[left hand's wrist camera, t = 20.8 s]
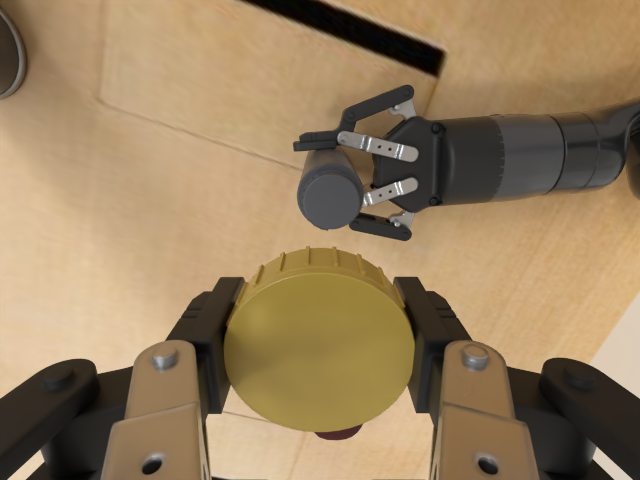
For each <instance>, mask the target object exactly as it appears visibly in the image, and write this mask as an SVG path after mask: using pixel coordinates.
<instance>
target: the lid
mask: <svg viewBox="0 0 640 480" xmlns="http://www.w3.org/2000/svg"><path fill="white" fill-rule="evenodd" d="M404 307H405V305H404V303H403V300H402V298H401V296H400V293H399V291H398V289H397V287H396V285H395V284H394V285H392V284H391V282H390V281H389V280H388V279H387V277H386V276H385V275H384V273H383V271H382V268H381V267H378V268H377V267H375V266H374V265H372V264H371V263H369V262H368V261H366V260H364V259H362V257H361V255H360V254H357V256H356V255H354V254H351V253H348V252H345V251H340V250H336V247H332V249H327V248H310V246H306V249H303V250H298V251H294V252H291V253H288V254H285V253H284V252H283V253H281V255H280V257H278V258H276V259H275V260H273V261H271V262H269V263H268V264H266V265H265V266H263V265H261V266H260V267H259V269H258V272H257V273H256V274H255V275H254V276H253V277H252V278H251V280H250V281H249V282H248V283H247V282H245V283H244V285H243V287H242V290H241V292H240V294H239V296H238V299H237V301H236V303H235V305H234V307H233V310H232V312H231V314H230V316H229V319H228V321H227V323H226V327H228V328H227V331H226V334H225V338H224V343H223V351H224V361H225V369H226V373H227V376H228V379H229V381H230V383H231V385H232V387H233V388H234V390H235V391H236V393H237V394H238V396H239V397H240V398H241V399H242V400H243V401H244V403H245V404H247V405H248V406H249V407H250V408H251V409H252V410H253V411H255V412H256V413H258V414H259V415H261V416H262V417H264V418H266V419H268V420H270V421H271V422H274V423H276V424H279V425H281V426H284V427H288V428H291V429H295V430H301V431H309V432H330V431H339V430H343V429H348V428H351V427H354V426H358V425H361V424H363V423H365V422H367V421H369V420H371V419H373V418H375V417H376V416H378V415H380V414H381V413H383V412H384V411H385V410H386V409H388V408H389V407H390V406H391V405H392V404H393V403H394V402H395V401H396V400H397V399H398V398H399V396H400V395H401V394H402V393H403V391H404V390H405V388H406V386H407V384H408V383H409V380H410V378H411V375H412V368H413V359H414V350H415V339H414V335H413V331H412V326H411V324H410V321H409V319H408V317H407V314H406V312H405V310H404Z"/></svg>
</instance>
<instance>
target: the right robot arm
mask: <svg viewBox="0 0 640 480" xmlns="http://www.w3.org/2000/svg"><path fill="white" fill-rule="evenodd" d="M413 95H414V89H413V87H412V86H410V85H404V86H401V87H398V88H395V89H393V90H390V91H388V92H385V93H383V94H380V95H378V96H376V97H373V98H371V99H368V100H366V101H363V102H361V103H358V104H356V105H354V106H351V107H349V108H346V109H345V110H344V111H343V113H342V118H341V121H340V125H339V127H338V128H337V129H335V130H333V131H321V132H308V133H304V134H302V135H300V136H299V137H300V141H295V142H294V143H293V147H294V151H309V150H322V149H335V148H337V146H340V145H343V146H347V147H351V148H356V149H360V150H363V151H367V152H371V153H372V159H373V162H374V166H375V169H374V173H373V182H371V183H368V184H365V185H363V190H364V201H363V205H362V207H365V206H371V205H375V204H377V203H380V202H383V201H385V200H389V201H391V202H392V203H394V204H396V205H397V206H399V207H400V208H402V209H403V210H402V212H400V213H397V214H395V213H394V214H391V215H390V216H389V217H388V218H384V217H380V216H375V215H370V214H366V213H361V212H359V214H358V215H357V216H356V217H355V219H353V220H352V221H351V222H350V223H349V227H350V228H351V229H352V230H355V231H359V232H364V233H369V234H374V235H378V236H383V237H388V238H392V239H397V240H402V241H407V240H409V239H410V238H411V236H412V233H411V231H410V226H411V223H412V220H413V217H414V214H415V213H417V212H420V211H421V210H423V209H425V208H427V207H431V206H445V205H459V204H472V203H486V202H500V201H512V200H519V199H524V198H529V197H534V196H544V195H558V194H571V193H584V192H591V191H596V190H600V189H602V188H604V187H606V186H608V185H610V184H611V183H612V182H613V181H615V180H616V178H617V177H618V176H619V174H620V173H621V171H622V170H623V167H624V165H625V166H626V171H627V172H626V173H627V178H628V183H629V187H630V190H631V192H632V194H633V195H634V196H635V197H636V198H637V199H638V200H640V96H638V97H636V98H633V99H630V100H627V101H624V102H621V103H617V104H614V105H610V106H606V107H603V108H599V109H595V110H590V111H585V112H572V113H560V114H547V115H527V114H509V115H498V114H495V115H490V116H484V117H471V118H459V119H446V120H433V121H429V120H426V119H424V118H422V117H420V116H417V115H416V112H415V108H414V105H413V101H412V97H413ZM386 109H387V111H388V113H389V114H391V115H401V116H402V117H403V118H404V120H403V121H402V122H400V123H399V124H398V125H397V126H396V127H394V128H393V129H392V130H391V131H390V132H388V133H387V134H386V135H385V136H384V137H382V138H378V137H374V136H370V135H366V134H361V133H356V132H353V131H354V127H355V124H356V121H358V120H361V119H363V118H366V117H368V116H371V115H373V114H376V113H378V112H381V111H383V110H386ZM374 188H375V189H374ZM379 194H380V195H379Z"/></svg>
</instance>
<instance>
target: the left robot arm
mask: <svg viewBox="0 0 640 480" xmlns="http://www.w3.org/2000/svg"><path fill="white" fill-rule="evenodd" d="M25 72H26V52H25V48H24V44H23V41H22V38H21V36H20V34H19V32H18V30H17V28H16V26H15V25H14V23H13V22H12V21H11V19H10V18H9V17H8V15H7V14H6V13H5V12H4V11H3V10H2V9H1V8H0V99H3V98H5V97H8V96H10V95H11V94H13V93H14V92H15V91H16V90H17V89H18V88H19V86H20V85H21V83H22V81H23V79H24V76H25ZM244 283H245V280H244V278H243V277H221V278H220V279H219V281H218V282H217V284H216V286H215V287H214V289H213V291H212V292H203V293H201V294H200V295H198V296H197V297H195V298H194V299H193V300H192V301H191V303H190V304H189V306H188V307H187V309H186V311H185V312H184V313H183V315H182V316H181V318H180V319H179V321H178V322H177V324H176V325H175V326H174V328H173V329H172V331H171V332H170V334H169V335H168V337H167V338H166V340H165V341H164V342H160V343H157V344H155V345H152V346H150V347H149V348H147V349H145V350H144V351H143V352H142V353H140V354H139V356H138V357H137V358H136V360H135V362H134V366H131V367H128V368H124V369H120V370H115V371H110V372H105V373H101V374H97V370H96V366H95V364H94V363H93V362H92V361H90V360H87V359H71V360H66V361H62V362H59V363H56V364H53V365H51V366H49V367H46V368H45V369H43V370H41V371H39V372H38V373H36V374H35V375H33V376H32V377H30V378H29V379H28V380H26V381H25V382H23V383H22V384H21V385H19V386H18V387H16V388H15V389H13V390H12V391H11V392H9V393H8V394H6V395H5V396H4V397H2V398H1V399H0V480H7V479H8V478H9V477H10V476H12V475H13V474H14V473H15V472H16V471H17V470H18V469H19V468H20V467H21V466H22V465H24V464H25V463H26V462H27V461H28V460H29V459H30V458H31V457H32V456H33V455H34V454H35V453H37V452H38V451H39V450H41V452H42V455H43V458H44V461H45V462H44V463H43V464H42V465H41V466H40V467H39V468H37V469H36V470H35V471H34V472H33V473H32V474H31V475H30V476H29V477H28V478H27V479H26V480H211V469H210V458H209V446H208V435H207V427H206V418H207V415H208V414H221V413H222V410H223V407H224V404H225V401H226V398H227V395H228V392H229V389H230V386H231V383H230V381H229V379H228V376H227V373H226V369H225V361H224V351H223V343H224V338H225V334H226V331H227V328H228V327H226V323H227V321H228V319H229V316H230V314H231V312H232V310H233V307H234V305H235V303H236V301H237V299H238V296H239V294H240V292H241V290H242V287H243V285H244ZM394 284H395V285H396V287H397V289H398V291H399V293H400V296H401V298H402V300H403V303H404V305H405V307H404V310H405V312H406V314H407V317H408V319H409V321H410V324H411V326H412V331H413V335H414V339H415V350H414V359H413V368H412V375H411V378H410V380H409V383H408V384H407V386H408V389H409V392H410V395H411V398H412V401H413V405H414V408H415V411H416V413H429V414H430V416H431V419H432V422H433V425H434V427H433V435H432V446H431V458H430V469H429V480H614V479H613V478H612V477H611V476H610V475H609V474H608V473H607V472H606V471H605V470H603V469H602V468H601V467H600V466H599V465H598V464H597V463H596V462H595V461H594V460H593V459H592V458H593V455H594V452H595V450H596V447H598V448H599V449H600V450H601V451H602V452H603V453H605V454H606V455H607V456H608V457H609V458H610V459H611V460H612V461H613V462H614V463H615V464H617V465H618V466H619V467H620V468H621V469H622V470H623V471H624V472H625V473H626V474H627V475H628V476H630V477H631V478H632V479H633V480H640V399H639V398H638V397H636V396H635V395H634V394H632V393H631V392H629V391H628V390H626V389H625V388H624V387H622V386H621V385H619V384H618V383H617V382H615V381H614V380H612V379H611V378H610V377H608V376H607V375H605V374H604V373H602V372H601V371H599V370H598V369H596V368H594V367H592V366H590V365H588V364H585V363H583V362H580V361H577V360H573V359H568V358H552V359H549V360H547V361H546V362H545V363H544V365H543V368H542V371H541V374H539V373H535V372H530V371H525V370H520V369H516V368H511V367H508V366H506V362H505V360H504V358H503V357H502V356H501V354H500V353H498V352H497V351H496V350H495V349H493V348H491V347H490V346H488V345H485V344H483V343H480V342H476V341H473V340H472V339H471V337H470V336H469V334H468V333H467V331H466V330H465V328H464V327H463V325H462V324H461V322H460V321H459V319H458V318H456V315H455V313H454V312H453V310H451V307H450V305H449V304H448V302H447V301H446V299H444V298H443V297H441V296H440V295H439V294H437V293H436V292H434V291H425V289H424V287H423V285H422V284H421V282H420V280H419V279H418V277H395V278H394V281H393V285H394Z"/></svg>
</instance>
